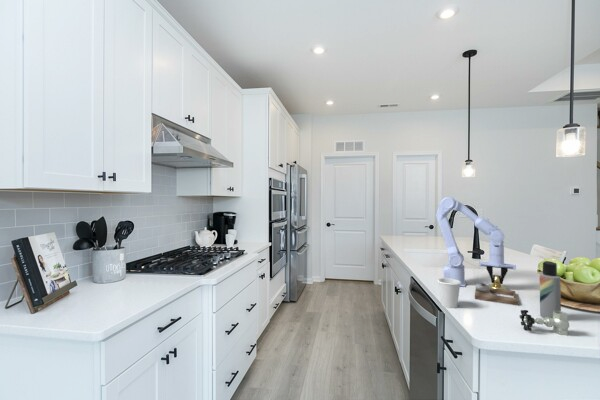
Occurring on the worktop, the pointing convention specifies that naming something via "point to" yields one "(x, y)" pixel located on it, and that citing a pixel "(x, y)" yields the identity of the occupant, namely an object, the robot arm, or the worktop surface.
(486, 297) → the carrier
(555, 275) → the lotion bottle
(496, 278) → the brass flanged knob
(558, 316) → the valve
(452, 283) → the dixie cup
